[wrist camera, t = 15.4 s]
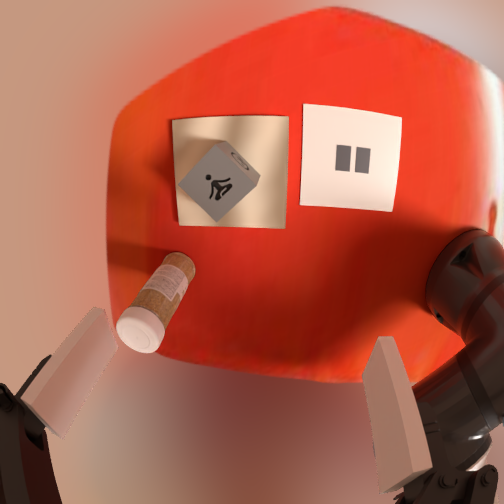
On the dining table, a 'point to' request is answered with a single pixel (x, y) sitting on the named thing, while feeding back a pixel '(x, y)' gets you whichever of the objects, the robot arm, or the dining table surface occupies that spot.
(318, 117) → the white tile
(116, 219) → the dining table surface
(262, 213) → the birch coaster
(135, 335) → the sprinkles bottle
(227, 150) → the dice cube
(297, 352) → the dining table surface
